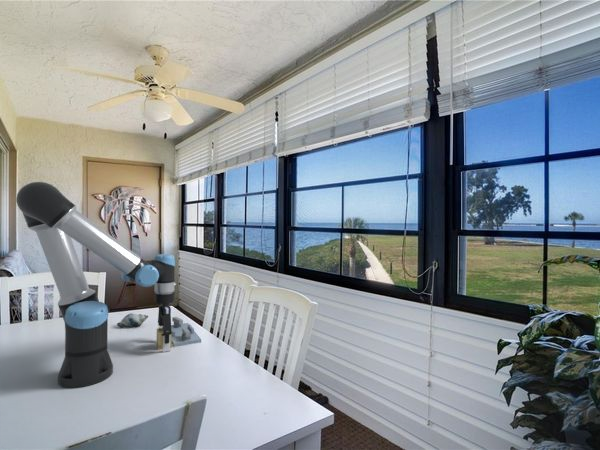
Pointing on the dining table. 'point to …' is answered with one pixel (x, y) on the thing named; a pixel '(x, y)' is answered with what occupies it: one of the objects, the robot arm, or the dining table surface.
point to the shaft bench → (183, 333)
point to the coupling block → (160, 339)
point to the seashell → (133, 320)
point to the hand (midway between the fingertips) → (164, 346)
